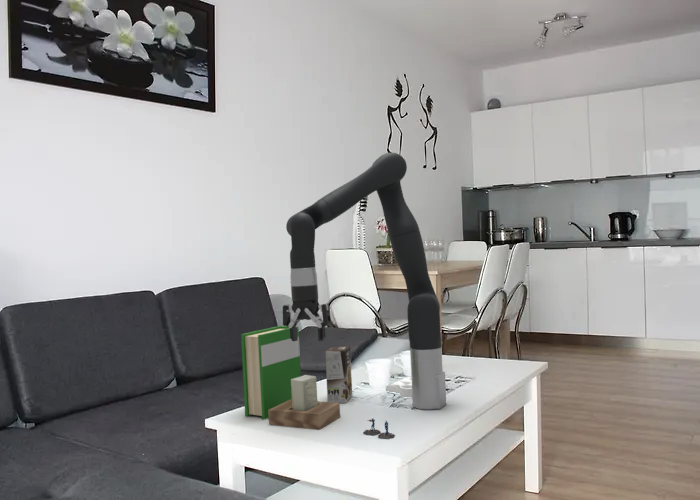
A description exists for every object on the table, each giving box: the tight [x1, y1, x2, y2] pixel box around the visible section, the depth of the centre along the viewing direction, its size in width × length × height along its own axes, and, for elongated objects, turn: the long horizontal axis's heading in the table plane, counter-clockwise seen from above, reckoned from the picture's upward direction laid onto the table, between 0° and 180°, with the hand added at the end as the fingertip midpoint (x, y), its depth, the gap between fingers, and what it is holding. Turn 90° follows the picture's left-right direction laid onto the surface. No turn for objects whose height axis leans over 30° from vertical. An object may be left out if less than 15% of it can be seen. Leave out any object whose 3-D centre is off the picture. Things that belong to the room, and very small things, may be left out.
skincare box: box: [291, 374, 318, 411], centre depth 174 cm, size 6×4×12 cm
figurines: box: [362, 417, 396, 440], centre depth 159 cm, size 10×5×4 cm, turn 45°
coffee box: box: [325, 345, 353, 404], centre depth 196 cm, size 9×6×16 cm
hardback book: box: [240, 325, 302, 420], centre depth 187 cm, size 18×7×24 cm, turn 147°
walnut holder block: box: [268, 399, 341, 430], centre depth 174 cm, size 16×12×4 cm
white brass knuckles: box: [385, 376, 412, 397], centre depth 203 cm, size 3×18×15 cm
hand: (307, 340), depth 177 cm, fingers open, 8 cm apart
